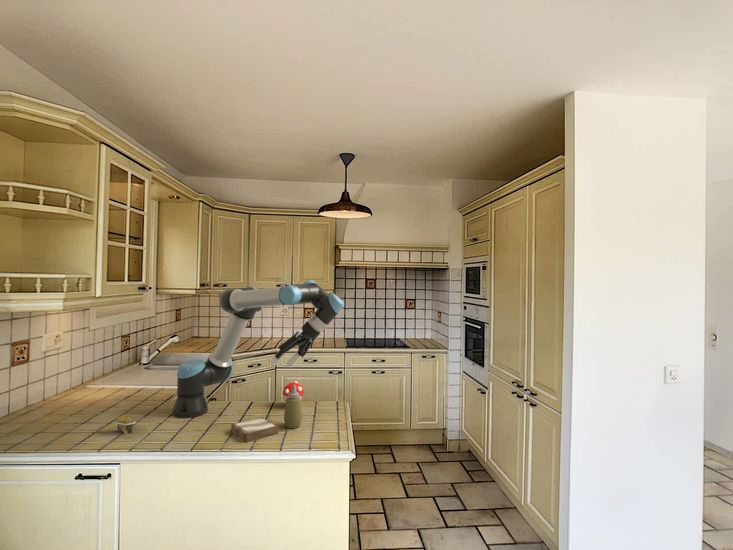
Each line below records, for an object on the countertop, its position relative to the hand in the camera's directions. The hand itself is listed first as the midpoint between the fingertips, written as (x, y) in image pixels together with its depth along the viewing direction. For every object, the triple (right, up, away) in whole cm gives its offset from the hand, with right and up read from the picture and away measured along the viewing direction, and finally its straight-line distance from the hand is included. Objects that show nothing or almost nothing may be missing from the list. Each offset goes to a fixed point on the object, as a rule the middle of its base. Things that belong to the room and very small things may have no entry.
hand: (280, 364), depth 169 cm
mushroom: (-1, -28, +34) cm, 45 cm away
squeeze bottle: (+4, -29, +9) cm, 30 cm away
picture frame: (-11, -28, +1) cm, 30 cm away
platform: (-64, -27, -3) cm, 69 cm away
